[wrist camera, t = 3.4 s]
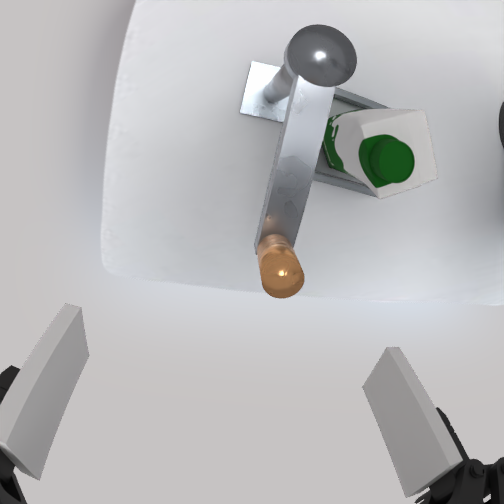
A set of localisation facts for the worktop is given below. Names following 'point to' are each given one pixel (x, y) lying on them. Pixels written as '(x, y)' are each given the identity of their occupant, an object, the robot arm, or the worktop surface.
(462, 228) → the worktop surface
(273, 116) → the post
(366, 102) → the socket frame
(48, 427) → the robot arm
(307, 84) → the crank handle
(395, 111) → the soya milk
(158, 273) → the worktop surface
